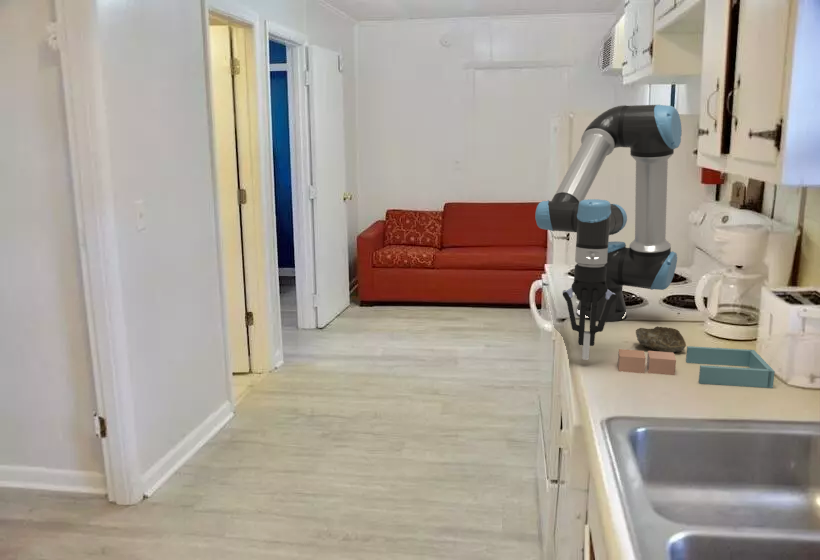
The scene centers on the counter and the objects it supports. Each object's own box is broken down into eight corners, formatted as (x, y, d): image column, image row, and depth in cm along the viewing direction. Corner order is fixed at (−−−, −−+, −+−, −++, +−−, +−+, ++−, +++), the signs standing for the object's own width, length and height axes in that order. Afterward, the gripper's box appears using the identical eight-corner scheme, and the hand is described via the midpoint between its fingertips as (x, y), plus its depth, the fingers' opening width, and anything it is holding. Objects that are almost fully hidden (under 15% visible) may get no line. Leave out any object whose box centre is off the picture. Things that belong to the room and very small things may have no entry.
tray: (685, 361, 182) (687, 346, 181) (752, 365, 179) (754, 349, 178) (699, 383, 166) (701, 367, 165) (772, 388, 164) (774, 371, 163)
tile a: (646, 366, 179) (647, 350, 178) (672, 368, 178) (673, 352, 177) (648, 373, 173) (649, 358, 172) (674, 376, 172) (676, 360, 171)
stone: (637, 346, 188) (637, 318, 191) (632, 357, 195) (632, 330, 198) (688, 350, 186) (686, 321, 189) (681, 360, 193) (680, 333, 196)
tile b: (617, 364, 180) (618, 348, 179) (642, 366, 179) (643, 350, 178) (618, 371, 174) (619, 356, 174) (644, 374, 173) (645, 358, 172)
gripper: (563, 266, 171) (558, 361, 175) (620, 268, 168) (614, 364, 173) (562, 260, 178) (558, 351, 183) (617, 262, 176) (611, 354, 181)
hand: (585, 357), depth 178 cm, fingers closed
